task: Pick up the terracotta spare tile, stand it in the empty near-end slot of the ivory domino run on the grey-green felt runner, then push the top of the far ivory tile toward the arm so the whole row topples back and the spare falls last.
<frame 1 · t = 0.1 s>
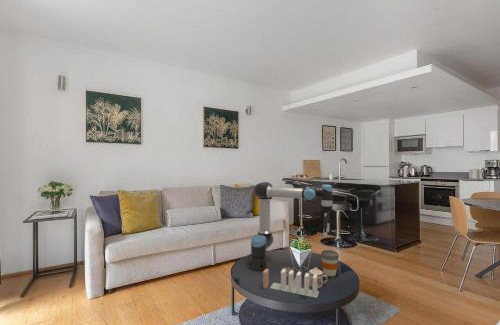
hand: (326, 234, 197), 28 cm above the table, fingers open, 13 cm apart
domino 6: (314, 293, 163), point 1 cm above the table, touching runner
teacup with lid: (318, 285, 175), on the table
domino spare: (265, 287, 172), on the table
domino 3: (291, 289, 169), point 1 cm above the table, touching runner
domino 5: (306, 292, 165), point 1 cm above the table, touching runner
reusable coffee cup: (329, 273, 193), on the table
domino 4: (298, 290, 167), point 1 cm above the table, touching runner
domino 2: (283, 287, 170), point 1 cm above the table, touching runner
runner: (294, 290, 168), on the table
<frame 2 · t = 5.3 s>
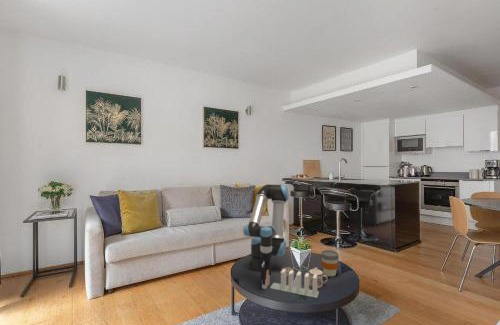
hand: (265, 286, 172), 0 cm above the table, fingers closed on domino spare, 6 cm apart
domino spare: (265, 287, 172), on the table, touching gripper
everything else where it was.
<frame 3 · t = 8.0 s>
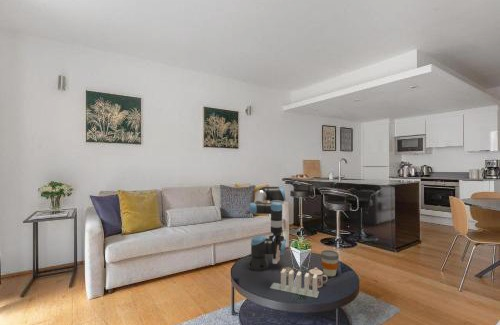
hand: (276, 261, 172), 17 cm above the table, fingers closed on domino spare, 6 cm apart
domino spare: (276, 262, 172), point 16 cm above the table, touching gripper
everything else where it was.
when the fingers open (2 cm above the table, at t = 10.7 s): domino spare drops 1 cm, resting on runner.
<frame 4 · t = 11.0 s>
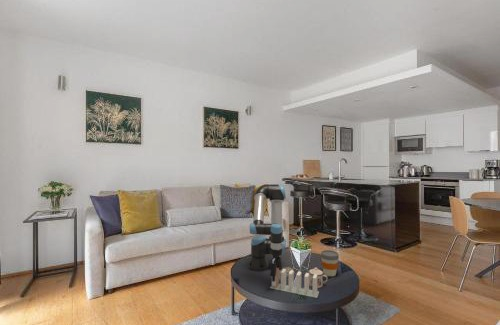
hand: (276, 282, 172), 3 cm above the table, fingers open, 9 cm apart
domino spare: (276, 286, 172), point 1 cm above the table, touching runner
everything else where it was.
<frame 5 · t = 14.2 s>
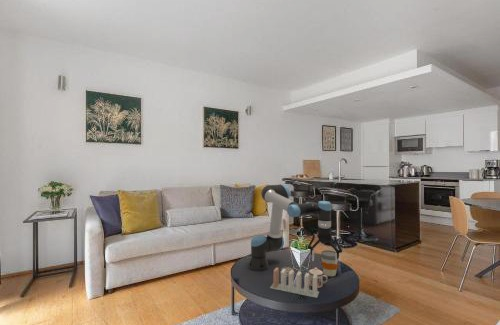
hand: (324, 262, 160), 21 cm above the table, fingers open, 13 cm apart
nothing on the table moved.
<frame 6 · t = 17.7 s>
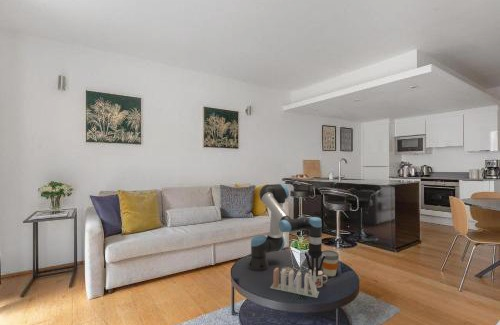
hand: (314, 280, 163), 9 cm above the table, fingers closed
domino 6: (314, 293, 163), point 1 cm above the table, tilted 15°, touching runner
everything else where it was.
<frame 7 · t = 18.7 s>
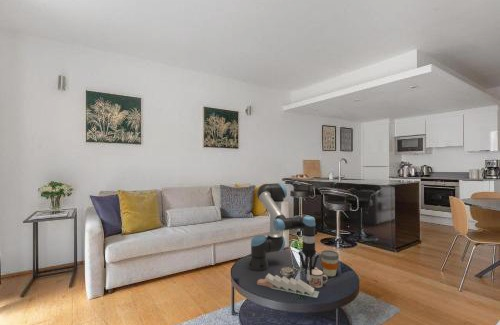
hand: (308, 279, 164), 9 cm above the table, fingers closed
domino 6: (313, 292, 163), point 2 cm above the table, tilted 67°, touching domino 5
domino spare: (274, 284, 173), point 2 cm above the table, tilted 94°, touching domino 2, runner
domino 3: (289, 287, 169), point 2 cm above the table, tilted 66°, touching domino 2, domino 4, runner
domino 5: (305, 290, 165), point 2 cm above the table, tilted 67°, touching domino 4, domino 6, runner
domino 4: (297, 288, 167), point 2 cm above the table, tilted 66°, touching domino 3, domino 5, runner
domino 2: (281, 285, 171), point 2 cm above the table, tilted 66°, touching domino 3, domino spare
everything else where it was.
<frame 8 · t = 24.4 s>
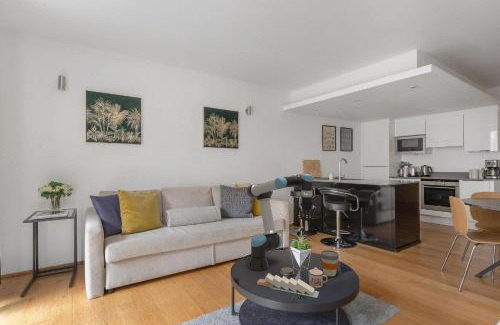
hand: (306, 230, 183), 34 cm above the table, fingers closed
nothing on the table moved.
at the end: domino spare tilted 94°; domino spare inside the target area (0.3 cm from its centre), point 1.7 cm above the table; domino 6 tilted 67° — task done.
